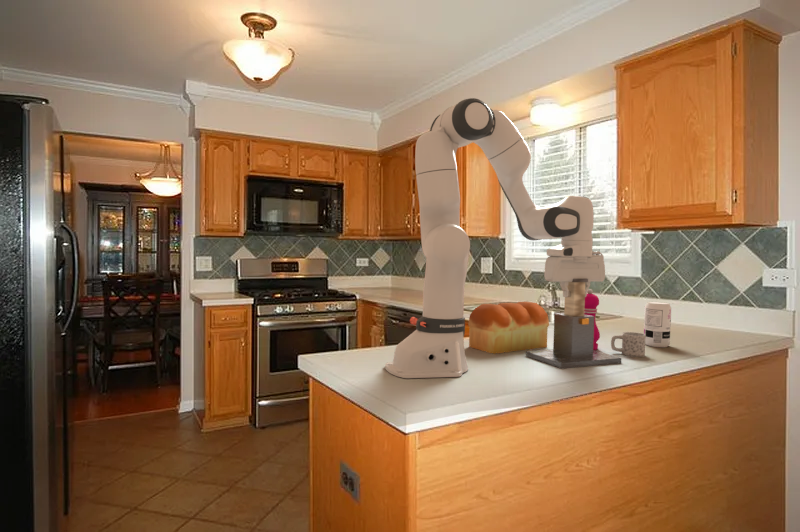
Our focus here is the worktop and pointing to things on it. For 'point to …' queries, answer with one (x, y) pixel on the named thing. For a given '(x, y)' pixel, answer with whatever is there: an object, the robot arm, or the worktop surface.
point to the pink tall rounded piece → (592, 313)
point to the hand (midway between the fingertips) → (574, 296)
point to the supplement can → (657, 324)
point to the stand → (573, 344)
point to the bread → (508, 327)
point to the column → (575, 298)
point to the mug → (630, 344)
